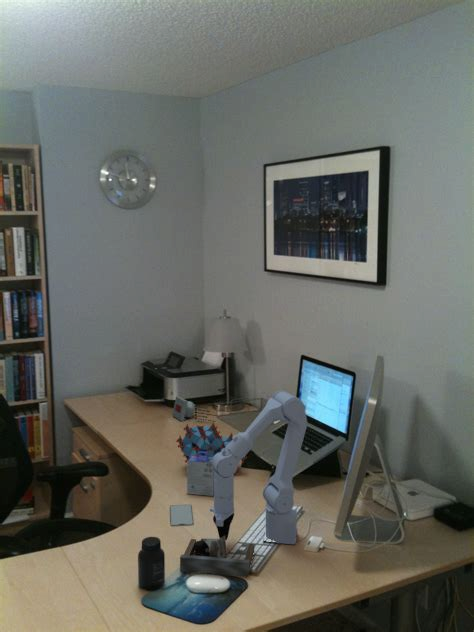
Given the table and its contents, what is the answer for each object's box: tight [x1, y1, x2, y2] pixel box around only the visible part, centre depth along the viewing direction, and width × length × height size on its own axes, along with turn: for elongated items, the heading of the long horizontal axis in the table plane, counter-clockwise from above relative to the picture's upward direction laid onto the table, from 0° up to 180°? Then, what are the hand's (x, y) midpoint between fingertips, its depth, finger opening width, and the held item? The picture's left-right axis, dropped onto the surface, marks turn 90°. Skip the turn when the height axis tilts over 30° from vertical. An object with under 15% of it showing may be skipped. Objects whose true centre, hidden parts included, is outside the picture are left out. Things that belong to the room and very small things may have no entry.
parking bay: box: [179, 538, 255, 578], centre depth 179 cm, size 18×14×4 cm
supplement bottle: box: [137, 536, 166, 592], centre depth 167 cm, size 7×7×12 cm
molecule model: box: [175, 421, 248, 476], centre depth 246 cm, size 16×14×25 cm
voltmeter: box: [172, 396, 219, 423], centre depth 311 cm, size 27×11×10 cm, turn 64°
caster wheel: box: [194, 536, 228, 558], centre depth 182 cm, size 7×11×10 cm
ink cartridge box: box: [186, 451, 214, 497], centre depth 225 cm, size 10×6×14 cm, turn 78°
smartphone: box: [169, 504, 195, 527], centre depth 208 cm, size 7×1×15 cm
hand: (223, 538), depth 188 cm, fingers closed
